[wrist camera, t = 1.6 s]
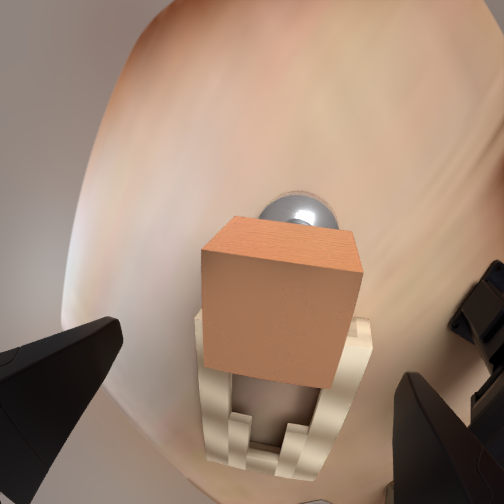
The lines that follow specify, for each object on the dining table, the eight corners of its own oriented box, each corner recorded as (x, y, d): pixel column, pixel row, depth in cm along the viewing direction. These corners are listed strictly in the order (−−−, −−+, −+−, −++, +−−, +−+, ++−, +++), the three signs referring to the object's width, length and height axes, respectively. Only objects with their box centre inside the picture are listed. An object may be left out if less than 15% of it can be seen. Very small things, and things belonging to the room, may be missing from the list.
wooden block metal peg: (343, 196, 19) (367, 270, 9) (331, 271, 21) (332, 391, 11) (262, 186, 20) (198, 245, 10) (257, 260, 22) (201, 367, 12)
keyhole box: (212, 294, 24) (194, 318, 20) (368, 319, 21) (372, 348, 18) (216, 437, 31) (206, 460, 28) (317, 457, 29) (313, 481, 26)
